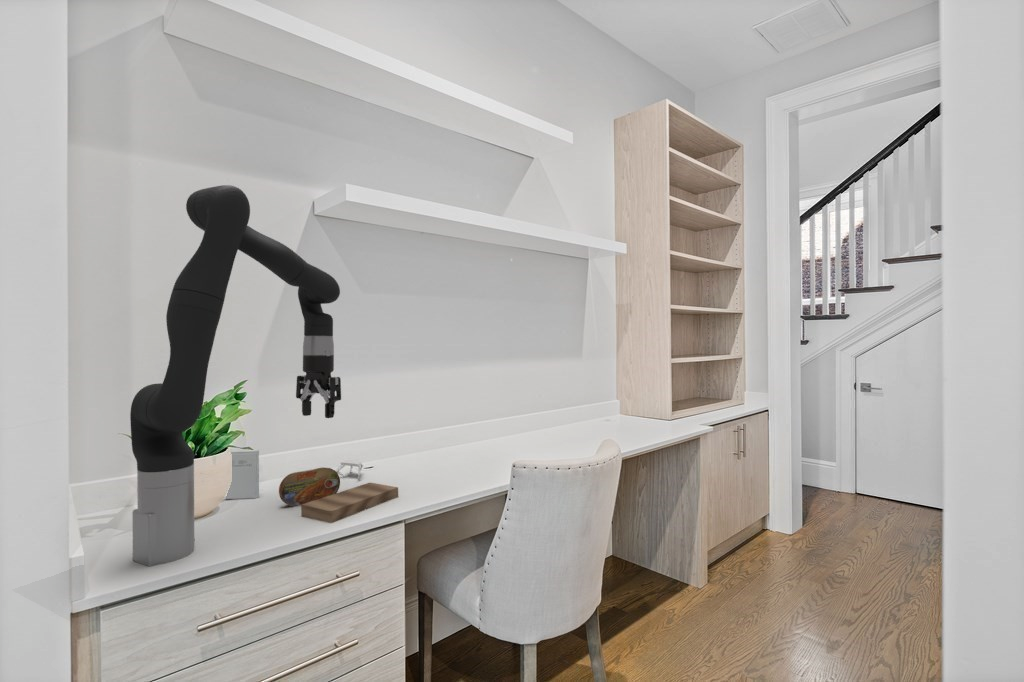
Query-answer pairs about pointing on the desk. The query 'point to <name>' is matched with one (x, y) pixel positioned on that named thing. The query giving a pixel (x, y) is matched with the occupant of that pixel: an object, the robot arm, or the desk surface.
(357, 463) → the origami figure
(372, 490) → the walnut riser
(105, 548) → the desk surface
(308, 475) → the tin
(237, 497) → the external hard drive
